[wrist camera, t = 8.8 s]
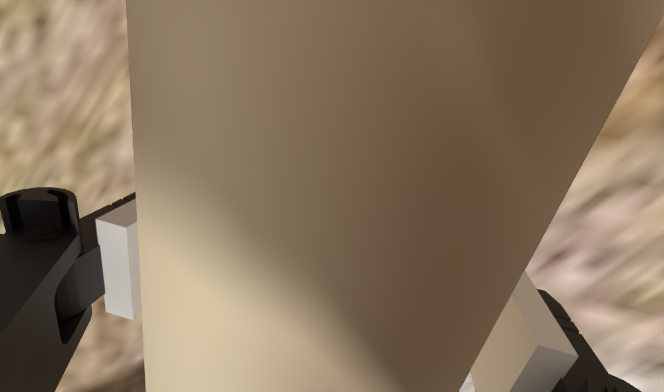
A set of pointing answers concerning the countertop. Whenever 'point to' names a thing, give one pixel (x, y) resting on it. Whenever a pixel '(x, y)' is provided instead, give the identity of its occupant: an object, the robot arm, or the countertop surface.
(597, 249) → the countertop surface
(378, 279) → the beam
